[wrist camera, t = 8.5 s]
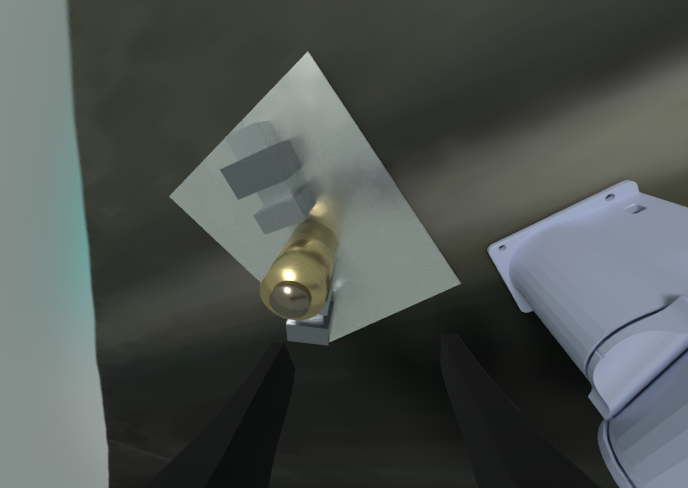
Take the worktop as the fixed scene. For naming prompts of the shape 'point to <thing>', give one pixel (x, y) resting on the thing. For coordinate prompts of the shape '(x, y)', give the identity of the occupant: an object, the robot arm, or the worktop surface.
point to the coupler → (301, 273)
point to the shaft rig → (316, 205)
